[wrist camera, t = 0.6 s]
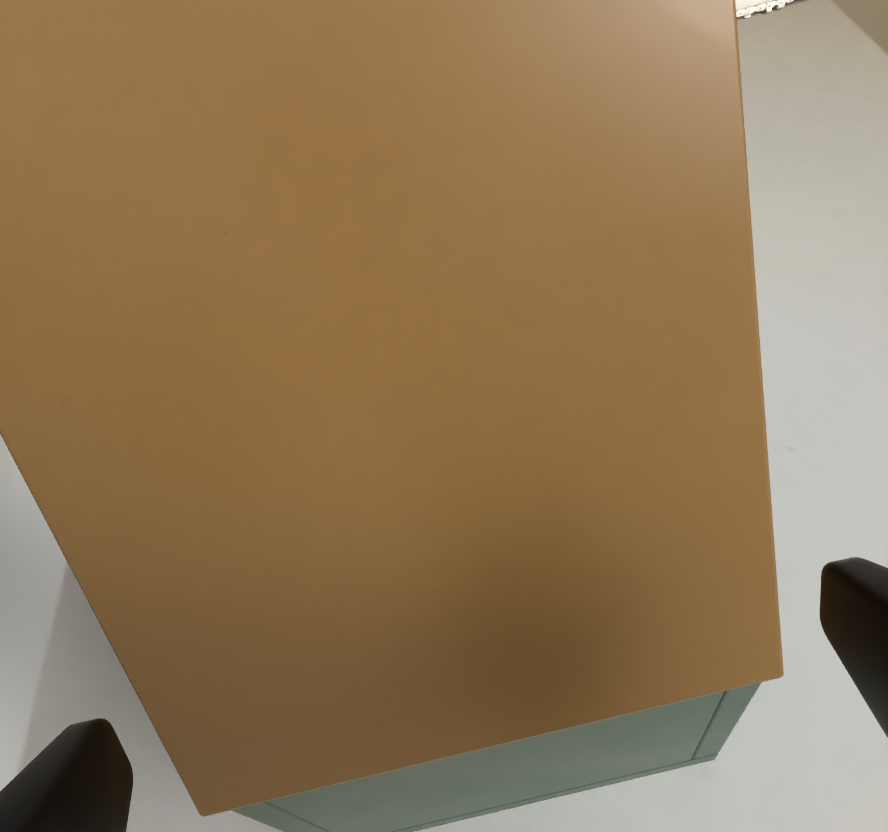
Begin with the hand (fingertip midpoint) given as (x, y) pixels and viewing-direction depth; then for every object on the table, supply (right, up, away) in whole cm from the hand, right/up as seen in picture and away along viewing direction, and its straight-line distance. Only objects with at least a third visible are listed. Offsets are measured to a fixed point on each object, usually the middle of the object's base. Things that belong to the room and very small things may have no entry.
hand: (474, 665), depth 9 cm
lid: (-1, +3, +3) cm, 5 cm away
